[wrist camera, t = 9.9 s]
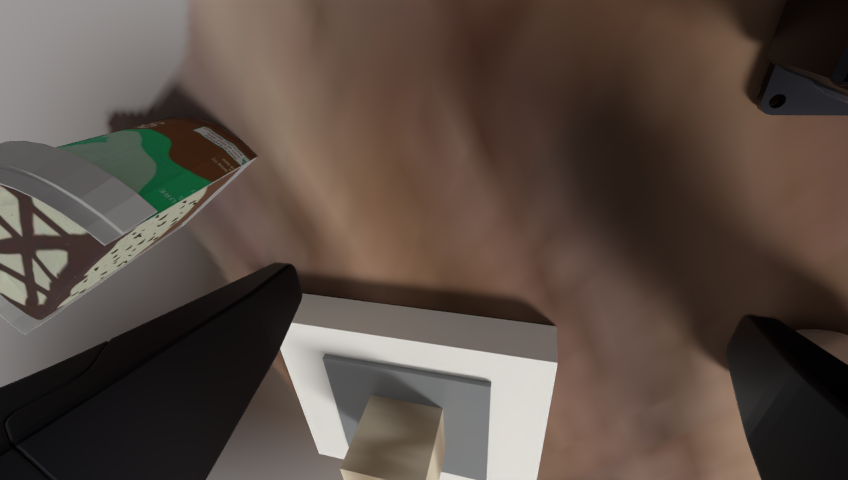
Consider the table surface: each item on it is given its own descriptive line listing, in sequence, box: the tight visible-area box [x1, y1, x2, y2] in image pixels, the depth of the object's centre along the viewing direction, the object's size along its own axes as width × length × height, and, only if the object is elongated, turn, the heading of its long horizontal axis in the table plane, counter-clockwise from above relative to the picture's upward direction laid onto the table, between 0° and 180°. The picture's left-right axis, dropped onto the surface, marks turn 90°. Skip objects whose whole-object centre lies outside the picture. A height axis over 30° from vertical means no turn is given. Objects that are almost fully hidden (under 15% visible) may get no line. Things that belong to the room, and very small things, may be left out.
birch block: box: [340, 395, 445, 480], centre depth 25 cm, size 5×5×5 cm
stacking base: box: [280, 293, 558, 480], centre depth 29 cm, size 18×16×3 cm
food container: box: [0, 117, 258, 335], centre depth 20 cm, size 12×6×10 cm, turn 128°
